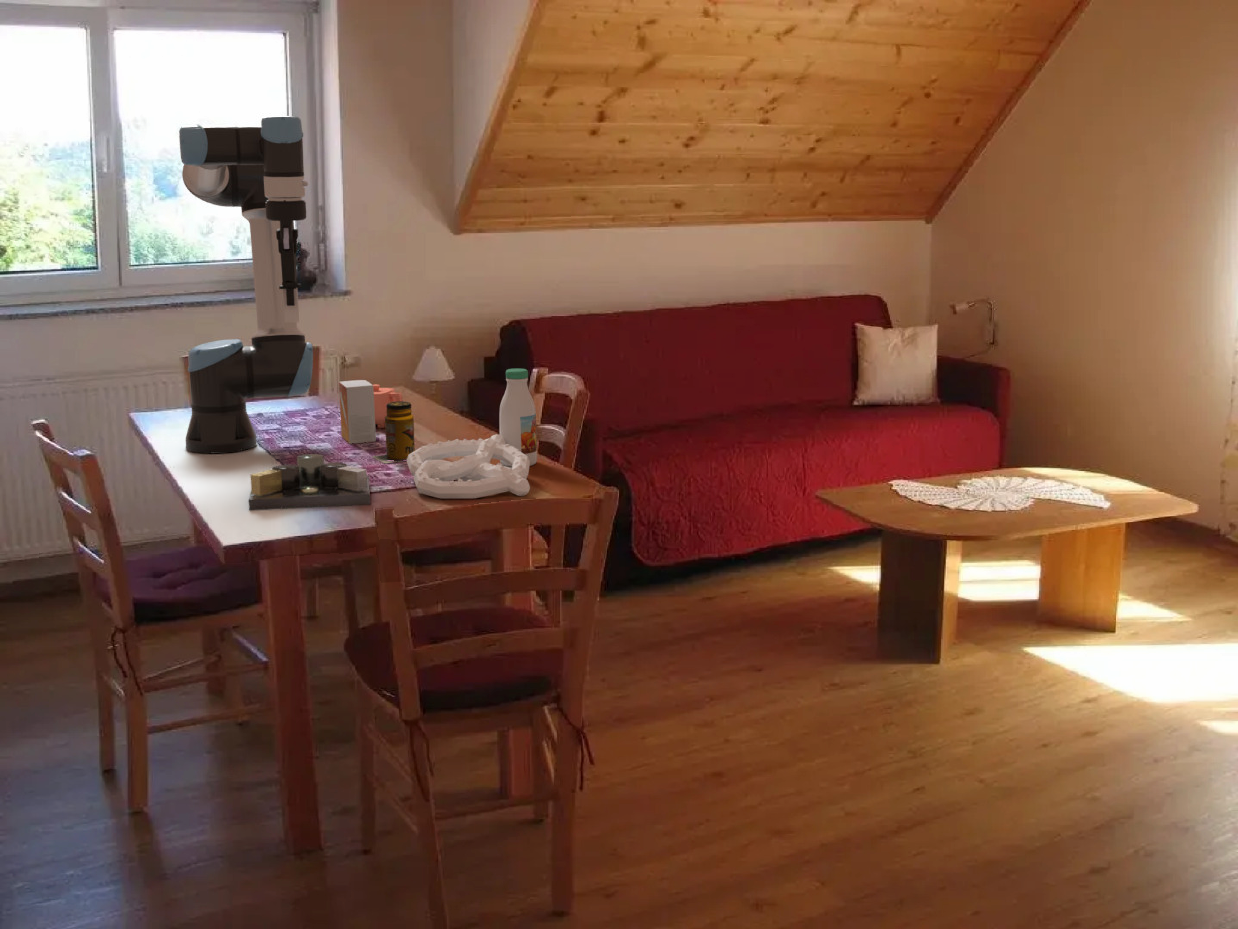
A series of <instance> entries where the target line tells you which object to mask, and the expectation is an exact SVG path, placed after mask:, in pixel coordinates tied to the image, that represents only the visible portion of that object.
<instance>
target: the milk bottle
mask: <svg viewBox="0 0 1238 929" xmlns="http://www.w3.org/2000/svg"><path fill="white" fill-rule="evenodd" d="M505 381H506V389H505V391H504V394H503V396H502V399H501V401H500V405H499V416H498V417H499V421H498V422H499V435H500V436H503V438H504V440H505V442H506V443H505V445H506V444H509V446H513V447H514V448H516V449H519V451H520V452H522V453H523V454H525V455H526V456H527V457H528V459H529V461H530V465H529V467H530V466H533V465H535V464H536V463H537V461H538V449H537V447H538V445H537V440H538V438H537V413H536V406H535V402H534V399H533V397H532V395H531V393H530V390H529V387H528V381H529V372H528V370H527V369H526V368H508V369H506V370H505ZM499 463H502V466H503V465H504V466H506V467H509V468H512V466H510V465H509V464H508V463H506V462H505V461H503V460H499Z"/></svg>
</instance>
